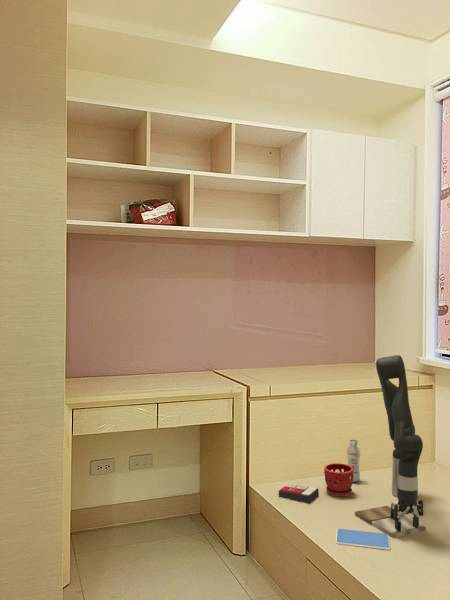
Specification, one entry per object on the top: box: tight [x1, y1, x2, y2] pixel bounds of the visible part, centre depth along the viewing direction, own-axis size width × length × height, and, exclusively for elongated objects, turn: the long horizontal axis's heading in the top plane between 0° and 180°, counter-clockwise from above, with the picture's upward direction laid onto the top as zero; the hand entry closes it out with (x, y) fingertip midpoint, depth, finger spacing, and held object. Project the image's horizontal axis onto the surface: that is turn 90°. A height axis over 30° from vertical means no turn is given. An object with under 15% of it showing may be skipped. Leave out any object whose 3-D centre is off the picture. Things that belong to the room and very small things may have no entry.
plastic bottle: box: [346, 439, 361, 483], centre depth 261 cm, size 6×7×20 cm
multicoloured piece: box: [278, 482, 320, 505], centre depth 241 cm, size 11×4×15 cm
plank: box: [371, 515, 427, 539], centre depth 209 cm, size 16×12×2 cm
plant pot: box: [323, 462, 354, 497], centre depth 245 cm, size 13×13×12 cm
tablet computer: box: [335, 528, 391, 551], centre depth 199 cm, size 19×13×1 cm, turn 76°
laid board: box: [354, 505, 400, 526], centre depth 220 cm, size 17×10×2 cm, turn 114°
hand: (406, 528), depth 205 cm, fingers open, 8 cm apart
